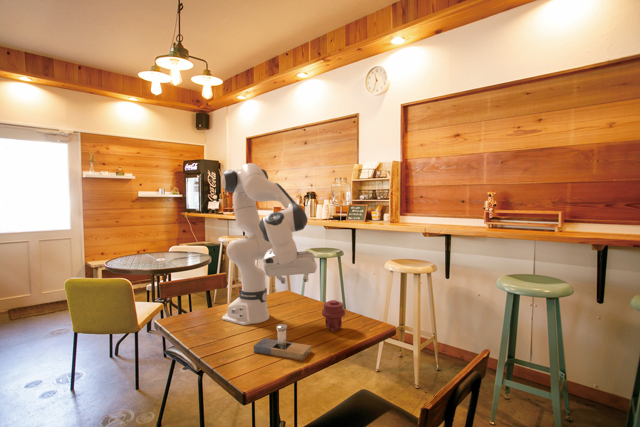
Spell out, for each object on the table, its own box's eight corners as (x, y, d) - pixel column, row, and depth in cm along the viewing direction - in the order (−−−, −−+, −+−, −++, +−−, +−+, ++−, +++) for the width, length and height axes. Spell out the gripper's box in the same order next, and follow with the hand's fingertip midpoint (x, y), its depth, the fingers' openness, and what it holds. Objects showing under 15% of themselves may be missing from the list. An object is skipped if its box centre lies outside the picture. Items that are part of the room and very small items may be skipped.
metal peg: (274, 353, 123) (274, 327, 122) (279, 348, 126) (279, 323, 126) (284, 355, 121) (284, 328, 121) (289, 350, 125) (289, 324, 125)
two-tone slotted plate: (253, 352, 124) (253, 345, 124) (264, 344, 131) (263, 338, 131) (302, 360, 117) (302, 354, 117) (310, 351, 124) (310, 345, 124)
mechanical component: (346, 325, 149) (343, 334, 139) (324, 324, 151) (320, 333, 141) (346, 298, 148) (343, 305, 139) (324, 297, 150) (319, 304, 141)
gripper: (313, 245, 126) (321, 274, 132) (263, 251, 130) (273, 278, 137) (311, 255, 120) (319, 285, 127) (258, 260, 125) (269, 288, 131)
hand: (295, 281), depth 132 cm, fingers open, 8 cm apart
